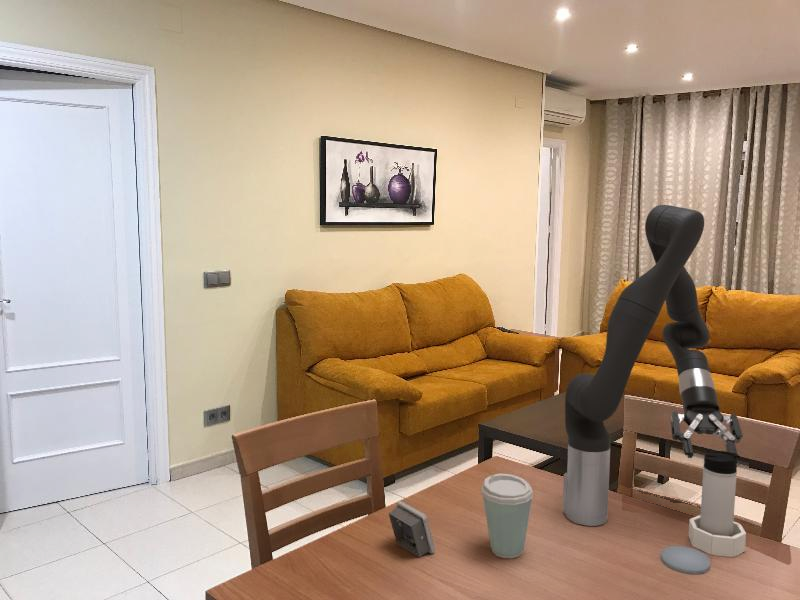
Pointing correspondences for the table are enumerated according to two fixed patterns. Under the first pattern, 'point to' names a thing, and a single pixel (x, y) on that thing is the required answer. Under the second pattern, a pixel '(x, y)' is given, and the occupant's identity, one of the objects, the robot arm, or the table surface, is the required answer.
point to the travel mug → (718, 493)
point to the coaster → (685, 559)
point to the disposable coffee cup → (507, 513)
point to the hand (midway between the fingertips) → (711, 457)
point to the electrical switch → (411, 529)
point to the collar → (717, 540)
